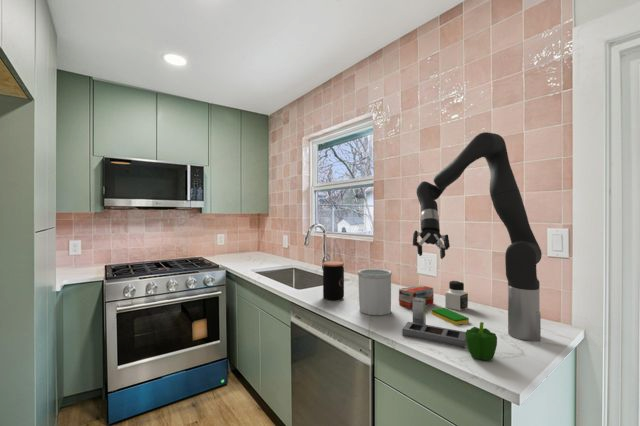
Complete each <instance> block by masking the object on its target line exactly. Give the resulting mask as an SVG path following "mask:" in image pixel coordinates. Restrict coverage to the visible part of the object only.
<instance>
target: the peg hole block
mask: <svg viewBox="0 0 640 426" xmlns="http://www.w3.org/2000/svg"><path fill="white" fill-rule="evenodd" d="M465 333H466V331H463V330H456V329H452V328H451V329H450V328H446V327H439V326H434V325H428V324H426V325H424V324H419V323H413V321H407V322H406V323H405V325H404V326H403V327H402V328H401V334H402V335H403V337H407V336H408V338H412V339H418V340H422V341H428V342H433V343H437V344H443V345H448V346H451V347H452V346H453V347H457V348H462V349H465V347H466V345H467V343H466V337H465Z"/></svg>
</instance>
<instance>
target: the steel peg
mask: <svg viewBox="0 0 640 426" xmlns="http://www.w3.org/2000/svg"><path fill="white" fill-rule="evenodd" d="M412 301H413V309H412V322H413V323H419V324H424V325H427V324H426V323H427V321H426V316H427V315H426V314H427V313H426V310H427V309H426V308H427V306H426V299H423V298H416V297H415V298H414V299H413V300H412Z"/></svg>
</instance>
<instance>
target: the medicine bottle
mask: <svg viewBox="0 0 640 426" xmlns="http://www.w3.org/2000/svg"><path fill="white" fill-rule="evenodd" d="M448 283H449V286H448V287H449V289H448V291H445V294H444V297H445V301H444V302H445V306H444V308H446V309H449V310H451V309H452V310H453V311H454V310H455V311H460V312H462V311H464V310H465V309H468V307H469V304H468V303H469V299H468V296H469V295H468V294H469V292H466V291H465V284H464V282H462V281H460V280H450V281H449V282H448Z"/></svg>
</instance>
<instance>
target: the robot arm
mask: <svg viewBox="0 0 640 426" xmlns="http://www.w3.org/2000/svg"><path fill="white" fill-rule="evenodd" d="M482 158H484V159H485V161H486V163H487V165H488V168H489V172H490V178H489V179H490V180H489V194H490V195H489V196H490V198H491V199H490V200H491V203H492V205H493V208H494V210H495V212H496V214H497V216H498V218H499V219H500V220H501V222H502V223H503V225H504V226H505V228H506V230H507V232H508V236H509V239H510V240H509V241H510V244H509V245H508V246H507V248H506V250H505V254H504V255H505V257H504V258H505V259H504V260H505V276H506V279H507V329H508V330H507V332H508V333H507V334H508V335H510V337H514V338H516V339H517V340H518V339H520V340H523V341H531V342H532V341H533V342H534V341H538V342H541V334H542V332H541V323H542V322H541V321H542V319H541V318H542V317H541V310H540V306H541V305H540V298H541V297H540V280H539V278H538V275H537V272H538V271H537V264H538V263H540V261H541V259H542V256H543V254H542V249H541V246H540V245H539V243H538V241H537V239H536V236H535V235H534V233H533V230H532V228H531V225H530V223H529V222H530V221H529V218H528V215H527V212H526V208H525V205H524V202H523V201H524V200H523V198H522V195H521V192H520V189H519V186H518V184H517V181H516V178H515V174H514V172H513V169H512V166H511V163H510V160H509V154H508V149H507V145H506V142H505V139H504V138H503V136H501V135H500V134H497V133H493V132H487V131H486V132H482V133H478V134H477V135H476V136H474V138H472V139H471V141H470V142H469V143H468V144H467V145H466V147H464V149H463V150H462V151H461V152H459V154H458V155H457V156H456V157H455V158H454V159H453V160H452V161H451V162H450V163H449V164H448V165H446V166H445V167H443V168H442V169H441V170H440V171H439V172H438V173H436V175H434V177H433V184H432V183H430V182H428V181H421V182H419V183H418V185H417V187H416V190H415V192H416V197H417V199H418V203H419V204H420V232H419V231H417V230H414V232H413V235H412V246H413V247H416V248H417V249H416V250H417V254H418V256H420V257H422V256H423V244H427V245H435V246H436V247H437V248H438V249H439V256H440V257H439V258H440V259H442V260H443V259H444V258H445V256H446V251H448V249H450V247H451V246H450V240H449V239H450V238H449V235H448V234H441V233H440V232H441V229H440V226H441V225H440V216H439V207H438V202H437V201H436V200H438V199H439V198H440V197H441V195H442V194H443V193H444V191H445V190H446V189H447V188H448V187H449V186H450V185H451V184H453V183H454V182H456V181H457V180H458V179H459V178H460V177H461V176H462V174H463V173H464V171H465V170H466V169H467V168H468V167H469V166H470V165H471V164H473V163H475V162H476V161H478V160H480V159H482ZM419 237H420V238H421V240H420V241H418V238H419Z"/></svg>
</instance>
